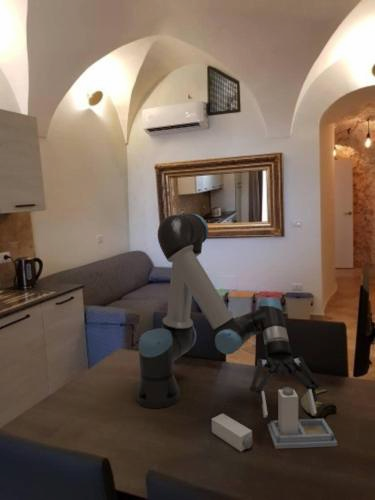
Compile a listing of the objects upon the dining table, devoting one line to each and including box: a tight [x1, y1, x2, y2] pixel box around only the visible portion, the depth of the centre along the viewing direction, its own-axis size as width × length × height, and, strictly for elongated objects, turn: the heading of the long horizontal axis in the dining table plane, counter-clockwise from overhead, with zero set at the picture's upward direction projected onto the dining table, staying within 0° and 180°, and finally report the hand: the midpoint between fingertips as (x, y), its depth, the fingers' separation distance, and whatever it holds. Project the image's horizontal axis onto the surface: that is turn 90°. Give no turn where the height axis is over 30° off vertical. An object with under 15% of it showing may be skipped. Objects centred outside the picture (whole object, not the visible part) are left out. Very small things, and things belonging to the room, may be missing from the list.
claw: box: [300, 388, 337, 419], centre depth 129 cm, size 20×10×3 cm, turn 174°
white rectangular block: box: [211, 412, 254, 452], centre depth 112 cm, size 13×4×4 cm, turn 38°
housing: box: [267, 418, 338, 450], centre depth 112 cm, size 17×10×3 cm, turn 90°
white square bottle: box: [277, 386, 299, 436], centre depth 111 cm, size 4×4×13 cm
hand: (290, 415), depth 109 cm, fingers open, 13 cm apart
